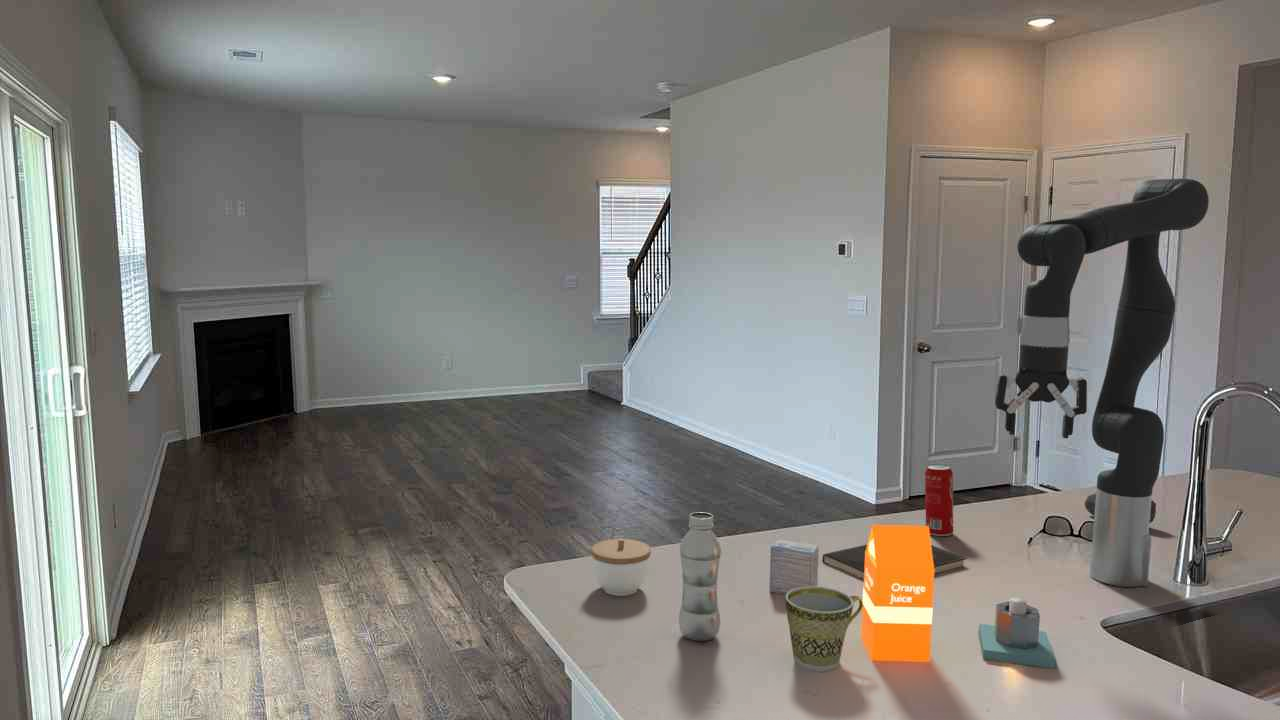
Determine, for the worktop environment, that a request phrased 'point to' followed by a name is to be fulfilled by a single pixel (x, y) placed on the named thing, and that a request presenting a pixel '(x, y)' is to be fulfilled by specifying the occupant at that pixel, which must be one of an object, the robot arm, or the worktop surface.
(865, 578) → the orange juice
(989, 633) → the shaft stand
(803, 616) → the ceramic cup
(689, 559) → the plastic bottle
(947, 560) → the hardcover book
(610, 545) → the lidded jar
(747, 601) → the worktop surface
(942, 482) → the beverage can
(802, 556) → the medicine box
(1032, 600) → the worktop surface
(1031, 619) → the tube
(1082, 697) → the worktop surface
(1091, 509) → the perforated stone tool
